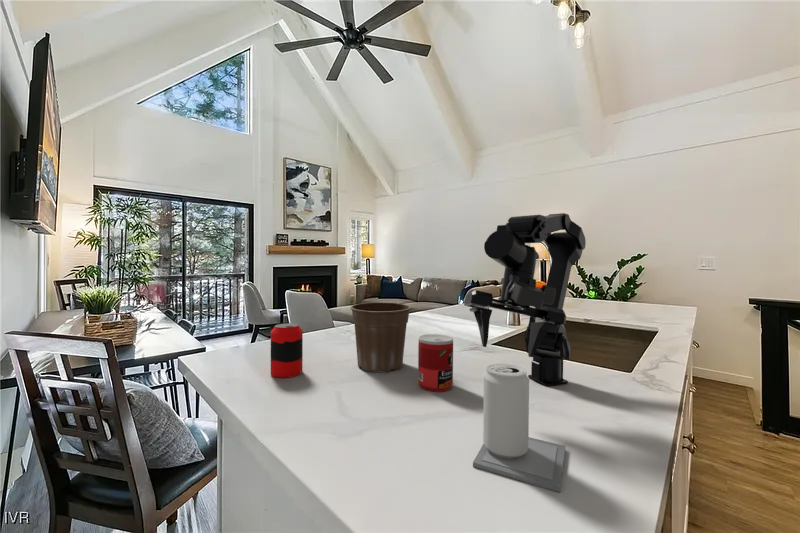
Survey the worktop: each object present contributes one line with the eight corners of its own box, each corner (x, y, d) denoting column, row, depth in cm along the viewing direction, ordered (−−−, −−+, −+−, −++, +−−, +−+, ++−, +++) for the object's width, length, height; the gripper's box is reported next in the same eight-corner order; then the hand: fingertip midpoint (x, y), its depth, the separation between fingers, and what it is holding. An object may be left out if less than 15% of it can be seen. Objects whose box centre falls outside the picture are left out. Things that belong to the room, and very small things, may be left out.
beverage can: (536, 461, 48) (537, 375, 48) (491, 462, 48) (492, 376, 48) (517, 437, 55) (518, 361, 54) (477, 438, 54) (478, 362, 54)
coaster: (492, 431, 58) (492, 427, 58) (565, 449, 52) (565, 445, 52) (472, 466, 48) (472, 461, 48) (559, 492, 43) (560, 486, 43)
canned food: (444, 395, 73) (444, 343, 73) (411, 387, 78) (412, 338, 77) (458, 384, 80) (458, 336, 80) (427, 377, 84) (427, 332, 84)
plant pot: (411, 376, 85) (411, 310, 85) (345, 375, 85) (345, 310, 85) (409, 357, 101) (410, 302, 101) (354, 356, 101) (355, 302, 101)
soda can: (276, 380, 81) (276, 329, 81) (266, 372, 87) (266, 324, 87) (307, 374, 86) (307, 326, 86) (295, 366, 92) (295, 321, 92)
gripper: (486, 255, 62) (472, 342, 59) (587, 278, 62) (577, 366, 59) (470, 267, 73) (456, 341, 70) (555, 286, 73) (546, 360, 70)
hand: (507, 351), depth 67 cm, fingers open, 9 cm apart
